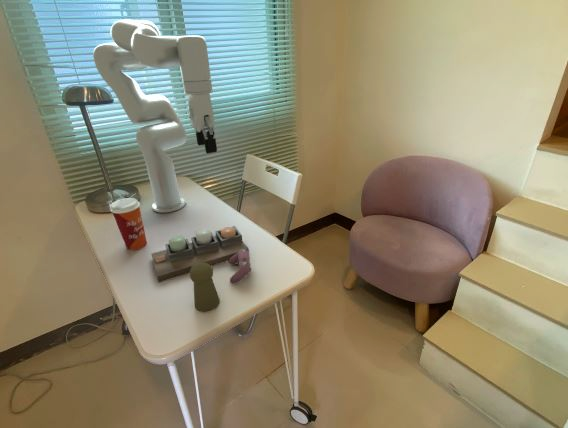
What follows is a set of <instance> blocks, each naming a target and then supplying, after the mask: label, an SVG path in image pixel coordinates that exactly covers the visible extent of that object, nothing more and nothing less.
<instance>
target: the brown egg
mask: <svg viewBox="0 0 568 428" xmlns="http://www.w3.org/2000/svg"><path fill="white" fill-rule="evenodd" d="M220 230H221V237H222V239H226V238H230V237H233V236H236V232H235V228H233V226H227V227H224V228H222V229H220Z"/></svg>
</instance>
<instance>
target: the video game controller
mask: <svg viewBox="0 0 568 428" xmlns="http://www.w3.org/2000/svg"><path fill="white" fill-rule="evenodd" d="M228 262H229V264H230V265H231V266H232V265H236V264H238V270H236V272H234V274H232V275H231V277H230V278H229V283H231V284H237V283H239V282H241V281H242V280H244V279H245V278H246V277H247V276H249V273H251V271H252V267H251V262H250V250H249V251H248V250H242V249H241V250H239V251H238V252H237V253H236V254H235V255H234V256H232V257H231V258H230V260H229V261H228Z"/></svg>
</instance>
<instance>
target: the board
mask: <svg viewBox="0 0 568 428" xmlns="http://www.w3.org/2000/svg"><path fill="white" fill-rule="evenodd" d="M232 227H233V228H235V232H236V236H233V237H230V238H226V239H222V237H221V230H222V229H219V230H215V231H214V233H215V235H214V234H213V232H211V237H212V242H211V243H209V244H205V245H198V244H197V241H196V236H193V237H191V238H190V239H191V242H190V241H189V240H188V238H185V241H186V246H187V248H186V249H185V250H184V251H180V252H177V253H174V252H172V251H171V248H170V244H169V243H167V244H165V249H163V250H160V251H156V252H152V253H151V254H150V255H151V259H152V262H153V267H154V271H155V274H156V280H157V282H158V284H159V283H162V282H164V281H167V280H171V279H174V278H177V277H180V276H184V275H188V274H190V270H191V268H192V267H193V266H194V265H196V264H198V263H207V264H209V265H210V266H211V267H213V266H217V265H219V264H223V263H226V262H229V260H230V258H231V257H232V256H234V255H235V254H236V253H237V252H238V251H239V250H241V249H242V250H248V251H249V252H250V250H249V247H248V245H247V244H246V243H245V242H244V240H243V236H242V234H241V232H240V231H239V230H238V229H237V227H236V226H234V225H232Z"/></svg>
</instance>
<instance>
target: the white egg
mask: <svg viewBox="0 0 568 428" xmlns="http://www.w3.org/2000/svg"><path fill="white" fill-rule="evenodd" d="M194 233H195V234H194V235H195V237H196V241H197V244H198V245H205V244H209V243H211V242H212V237H211V230H210V229H208V228H201V229H198V230H196V231H195V232H194Z"/></svg>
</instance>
